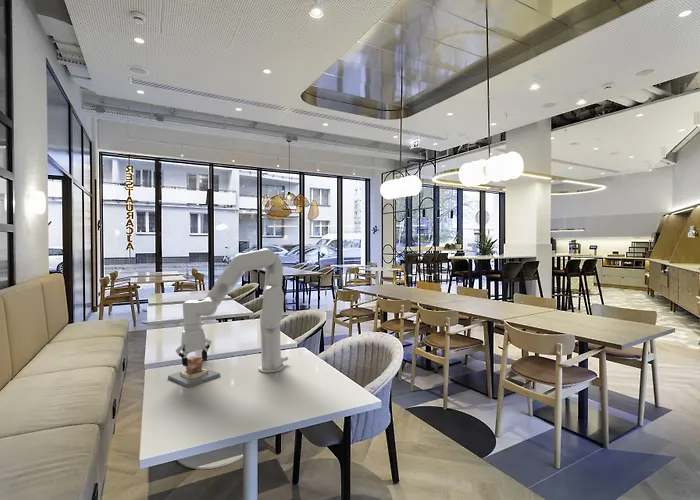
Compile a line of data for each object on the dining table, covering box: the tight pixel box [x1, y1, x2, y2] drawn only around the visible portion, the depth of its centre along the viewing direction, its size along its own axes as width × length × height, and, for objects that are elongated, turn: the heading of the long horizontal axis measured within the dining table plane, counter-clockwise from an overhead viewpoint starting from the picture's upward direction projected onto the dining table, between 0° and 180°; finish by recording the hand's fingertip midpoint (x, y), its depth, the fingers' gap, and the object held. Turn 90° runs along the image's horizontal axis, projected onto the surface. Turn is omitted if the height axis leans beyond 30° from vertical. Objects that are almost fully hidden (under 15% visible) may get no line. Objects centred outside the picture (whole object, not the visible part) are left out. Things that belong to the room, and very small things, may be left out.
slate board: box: [167, 366, 221, 388], centre depth 179 cm, size 16×18×3 cm
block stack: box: [185, 354, 203, 375], centre depth 179 cm, size 5×5×8 cm
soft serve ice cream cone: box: [194, 332, 209, 361], centre depth 206 cm, size 8×8×16 cm
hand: (195, 362), depth 179 cm, fingers open, 9 cm apart
